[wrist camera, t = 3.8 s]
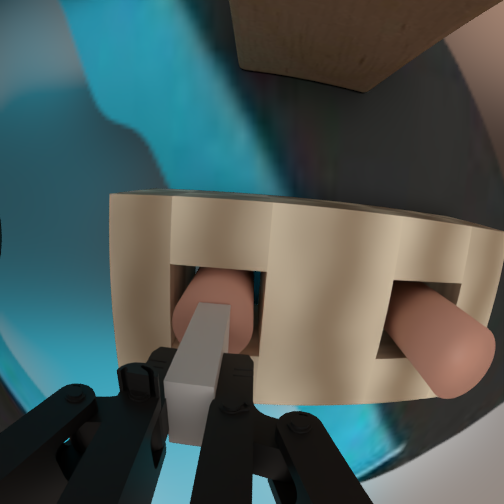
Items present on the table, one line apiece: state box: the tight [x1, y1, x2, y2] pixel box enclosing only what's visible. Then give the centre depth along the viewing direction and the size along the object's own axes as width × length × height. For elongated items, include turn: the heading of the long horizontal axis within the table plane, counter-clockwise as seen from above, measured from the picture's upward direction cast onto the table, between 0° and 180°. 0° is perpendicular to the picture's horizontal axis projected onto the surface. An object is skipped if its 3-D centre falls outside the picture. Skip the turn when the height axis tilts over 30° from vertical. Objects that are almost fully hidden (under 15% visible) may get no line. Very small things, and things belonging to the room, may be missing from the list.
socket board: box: [109, 188, 504, 405], centre depth 21 cm, size 24×12×8 cm, turn 86°
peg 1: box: [172, 267, 254, 354], centre depth 19 cm, size 4×4×8 cm
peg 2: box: [383, 280, 495, 399], centre depth 16 cm, size 4×4×8 cm
